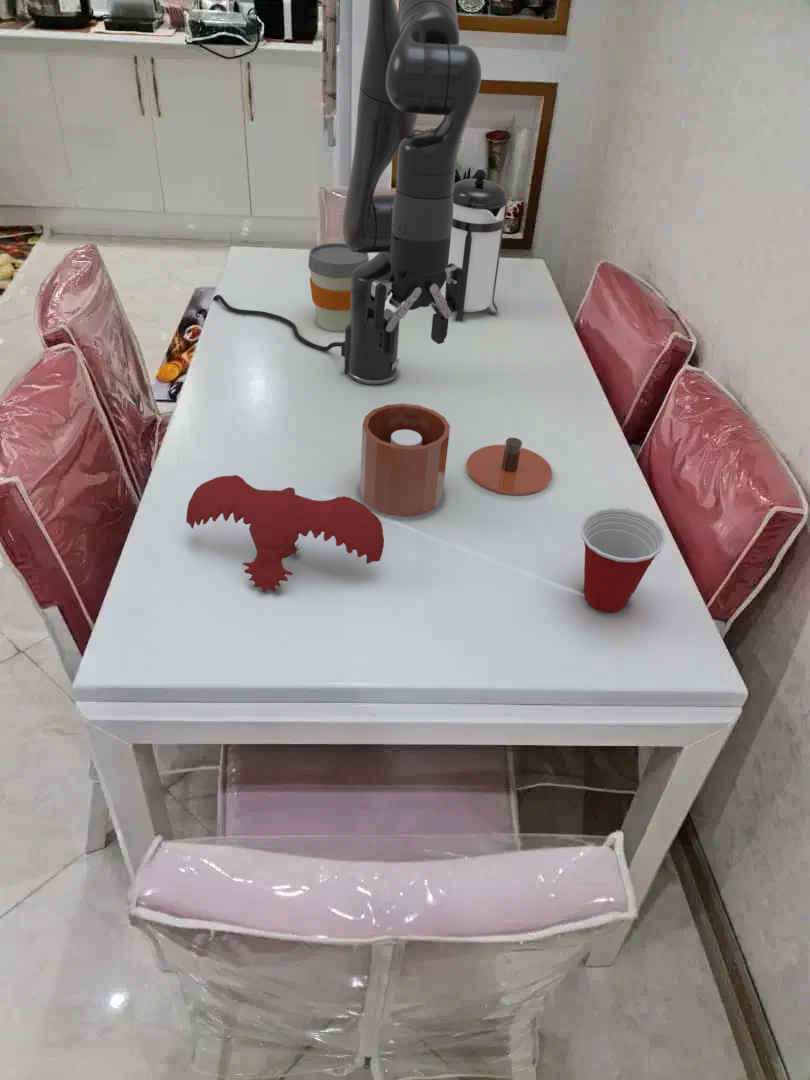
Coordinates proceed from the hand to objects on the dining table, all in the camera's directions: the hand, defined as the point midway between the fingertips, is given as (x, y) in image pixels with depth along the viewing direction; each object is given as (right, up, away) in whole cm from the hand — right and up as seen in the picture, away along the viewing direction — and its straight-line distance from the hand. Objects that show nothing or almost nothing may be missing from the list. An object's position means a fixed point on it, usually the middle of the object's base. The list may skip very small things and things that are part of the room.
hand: (412, 347), depth 111 cm
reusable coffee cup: (-15, +20, +64) cm, 69 cm away
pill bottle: (-1, -19, +16) cm, 25 cm away
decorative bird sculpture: (-18, -30, +1) cm, 35 cm away
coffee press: (+12, +27, +75) cm, 80 cm away
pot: (-2, -19, +16) cm, 25 cm away
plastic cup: (+26, -35, 0) cm, 44 cm away
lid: (+16, -15, +22) cm, 31 cm away
